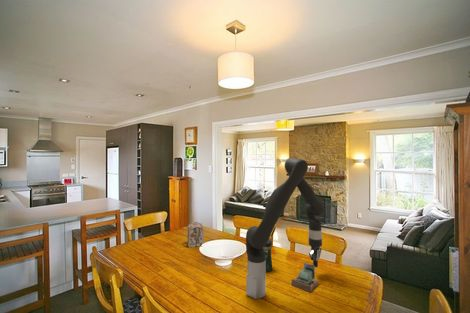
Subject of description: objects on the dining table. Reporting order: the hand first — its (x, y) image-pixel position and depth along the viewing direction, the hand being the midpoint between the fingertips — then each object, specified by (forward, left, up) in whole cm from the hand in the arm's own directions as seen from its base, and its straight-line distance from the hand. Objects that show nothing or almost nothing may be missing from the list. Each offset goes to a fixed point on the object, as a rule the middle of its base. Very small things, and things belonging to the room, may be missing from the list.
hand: (315, 266), depth 137 cm
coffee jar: (-13, +27, -6) cm, 31 cm away
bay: (-14, 0, -5) cm, 15 cm away
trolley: (-12, 0, -5) cm, 13 cm away
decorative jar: (-15, +92, -6) cm, 94 cm away
